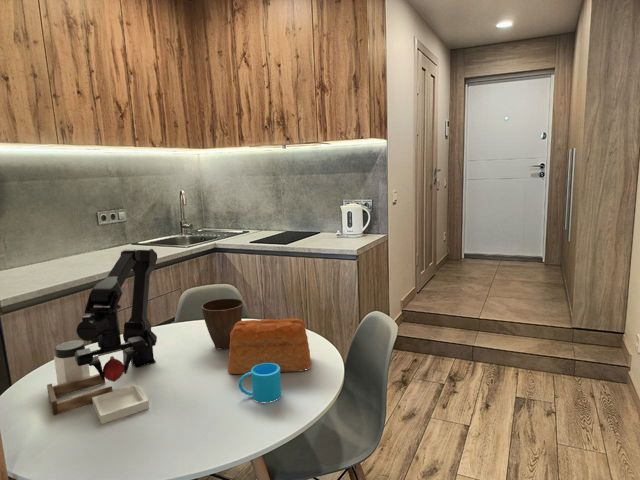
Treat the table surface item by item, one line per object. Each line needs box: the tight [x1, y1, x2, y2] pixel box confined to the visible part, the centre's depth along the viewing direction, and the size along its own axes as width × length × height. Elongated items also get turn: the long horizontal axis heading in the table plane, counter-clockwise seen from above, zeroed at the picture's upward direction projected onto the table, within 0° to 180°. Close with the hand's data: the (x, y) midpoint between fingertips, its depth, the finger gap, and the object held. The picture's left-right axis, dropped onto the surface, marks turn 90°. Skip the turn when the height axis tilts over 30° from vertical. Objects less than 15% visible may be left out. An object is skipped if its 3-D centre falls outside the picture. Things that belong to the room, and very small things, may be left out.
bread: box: [227, 318, 311, 375], centre depth 143 cm, size 14×27×15 cm, turn 92°
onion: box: [102, 355, 124, 383], centre depth 131 cm, size 6×6×8 cm
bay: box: [46, 373, 114, 416], centre depth 126 cm, size 15×12×4 cm
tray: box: [92, 384, 150, 425], centre depth 121 cm, size 12×12×2 cm
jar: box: [53, 339, 91, 385], centre depth 136 cm, size 9×8×12 cm
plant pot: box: [201, 298, 244, 350], centre depth 160 cm, size 15×15×16 cm
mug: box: [237, 363, 282, 403], centre depth 124 cm, size 12×8×8 cm
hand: (114, 376), depth 131 cm, fingers closed on onion, 6 cm apart
